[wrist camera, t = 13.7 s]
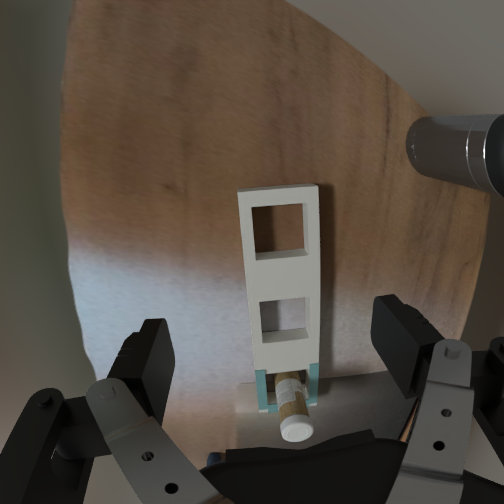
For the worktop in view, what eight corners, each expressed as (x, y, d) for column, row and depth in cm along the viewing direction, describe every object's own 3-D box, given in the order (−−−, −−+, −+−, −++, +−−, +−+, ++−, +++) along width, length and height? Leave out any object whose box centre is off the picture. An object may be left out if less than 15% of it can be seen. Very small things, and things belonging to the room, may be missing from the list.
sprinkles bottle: (302, 378, 53) (318, 436, 40) (278, 388, 53) (288, 446, 40) (293, 361, 51) (308, 419, 39) (268, 371, 52) (276, 430, 39)
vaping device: (205, 462, 60) (203, 505, 49) (209, 450, 59) (207, 496, 47) (217, 464, 60) (216, 507, 49) (221, 452, 59) (221, 497, 47)
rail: (312, 183, 42) (318, 186, 39) (313, 394, 54) (316, 406, 51) (237, 189, 42) (237, 192, 39) (258, 401, 54) (259, 413, 51)
